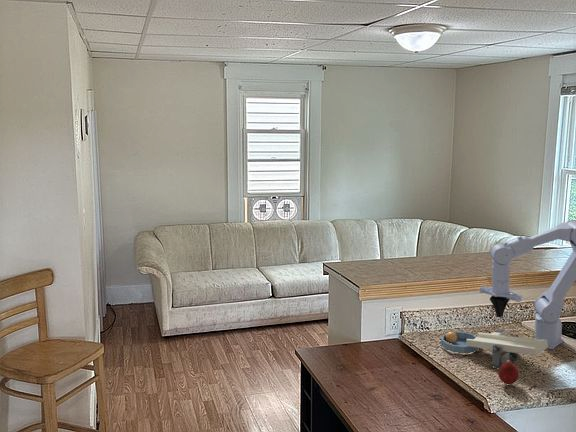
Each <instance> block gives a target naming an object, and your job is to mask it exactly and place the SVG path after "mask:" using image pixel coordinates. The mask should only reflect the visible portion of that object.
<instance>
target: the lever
mask: <svg viewBox="0 0 576 432" xmlns="http://www.w3.org/2000/svg"><path fill="white" fill-rule="evenodd" d="M508 332H509V329H507V328H497V329H495V330H494V331H492V332H491V333H487V332H477V336H476V338H475V339H467V340H466V341H467V346H471V347H478V349H479V348H480V349H486V350H487V349H488V350H492V349H493V346H494V345H496V346H499V347H502V352H506V353H508V352H513V353H518V354H519V355H530V356H536V357H537V356H538V355H539V354H541V353H542V352H544V351H545V350H546V349H548V343H547V340H545V339H543V340H539V339H534V338H530V337H520V336H519V337H514V336H510V335H506V334H507V333H508Z"/></svg>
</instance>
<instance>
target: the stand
mask: <svg viewBox="0 0 576 432" xmlns="http://www.w3.org/2000/svg"><path fill="white" fill-rule="evenodd" d="M509 336H514V337H520V336H519V335H518V334H510V335H509ZM491 351H492V361H491V363H489V367H490V366H494V367H496V368H500V367H501V365H503V364H505V363H506V362H507V360H510V361H511V363H512V364H513V363H515V362H517V360H519V359H520V358H521V356H522V354H519V353H513V352H506V353H505V354H503V355H502V352H503V351H502V347H499V346H496V345H494V346H493V349H491Z"/></svg>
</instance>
